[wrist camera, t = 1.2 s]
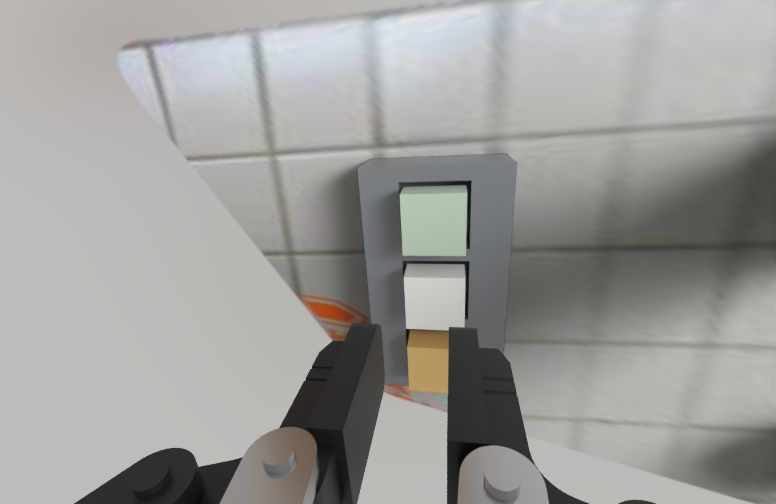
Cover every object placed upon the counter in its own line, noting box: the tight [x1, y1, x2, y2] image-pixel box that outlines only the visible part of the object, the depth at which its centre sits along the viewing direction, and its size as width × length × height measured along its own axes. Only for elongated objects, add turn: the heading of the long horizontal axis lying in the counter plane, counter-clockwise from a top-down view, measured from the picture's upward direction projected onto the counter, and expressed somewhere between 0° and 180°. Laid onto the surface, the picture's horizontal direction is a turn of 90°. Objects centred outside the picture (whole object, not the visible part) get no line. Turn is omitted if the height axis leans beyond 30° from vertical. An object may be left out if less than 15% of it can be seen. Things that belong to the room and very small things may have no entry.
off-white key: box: [404, 264, 466, 330], centre depth 23 cm, size 4×4×2 cm
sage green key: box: [400, 185, 467, 256], centre depth 21 cm, size 4×4×2 cm
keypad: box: [357, 153, 517, 386], centre depth 26 cm, size 9×16×4 cm, turn 3°
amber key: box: [407, 330, 449, 394], centre depth 25 cm, size 4×4×2 cm
